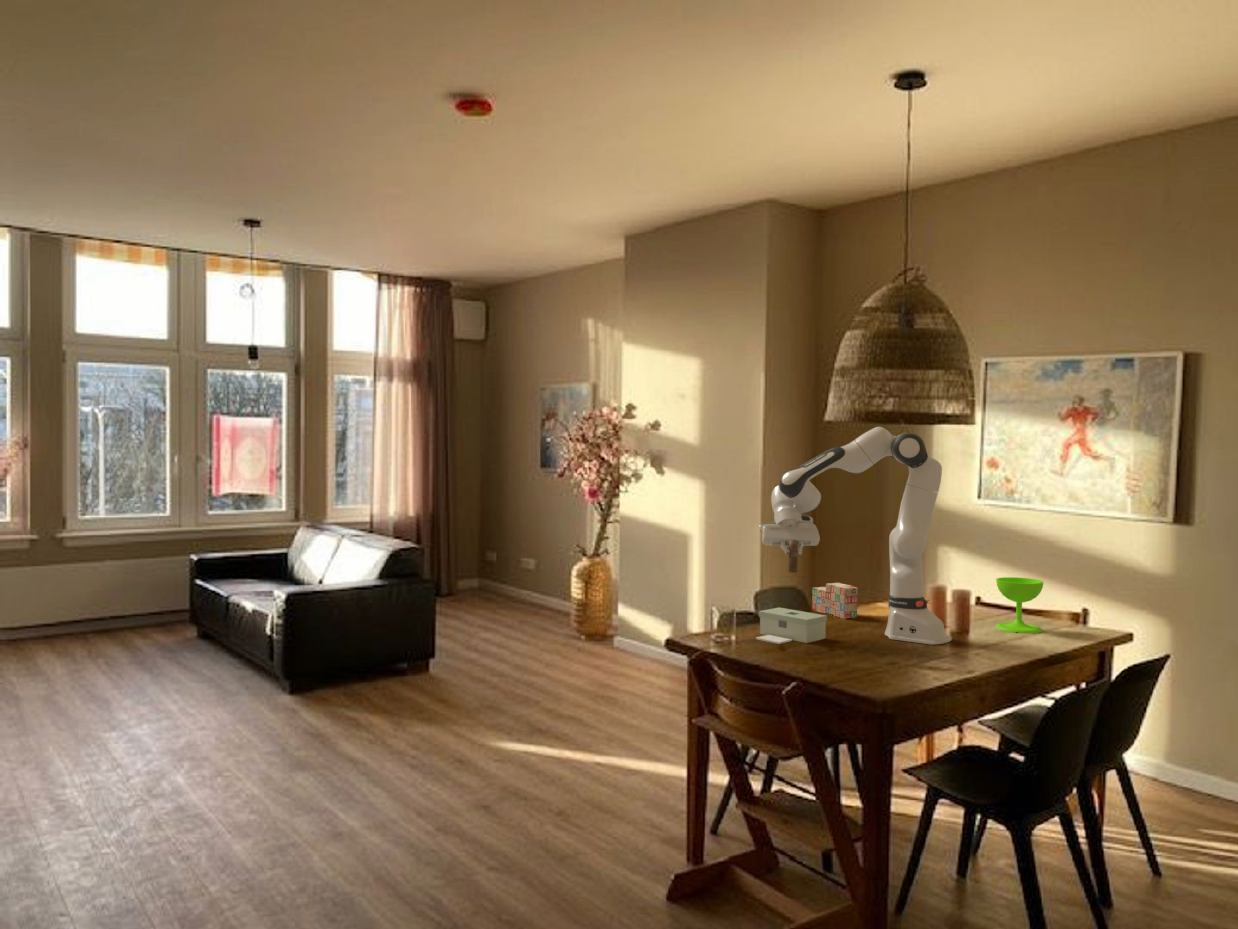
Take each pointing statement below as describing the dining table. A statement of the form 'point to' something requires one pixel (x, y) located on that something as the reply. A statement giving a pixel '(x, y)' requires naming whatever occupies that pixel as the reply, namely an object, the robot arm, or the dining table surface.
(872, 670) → the dining table surface
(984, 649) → the dining table surface
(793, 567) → the walnut key
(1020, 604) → the wineglass
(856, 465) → the robot arm
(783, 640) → the felt mat
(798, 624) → the pale green lidded box
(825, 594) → the stack of blocks
